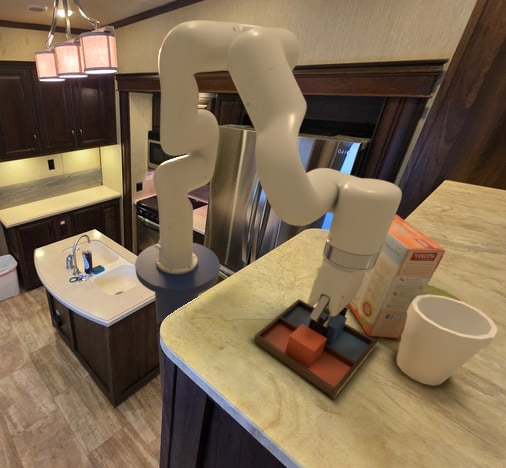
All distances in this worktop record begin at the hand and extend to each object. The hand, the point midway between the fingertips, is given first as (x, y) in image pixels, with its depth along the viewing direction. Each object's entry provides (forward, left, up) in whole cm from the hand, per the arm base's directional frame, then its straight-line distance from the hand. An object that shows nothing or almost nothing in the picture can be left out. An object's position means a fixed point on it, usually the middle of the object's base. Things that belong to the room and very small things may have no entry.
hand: (325, 327), depth 58 cm
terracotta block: (0, -8, -2) cm, 8 cm away
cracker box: (+3, +13, -3) cm, 14 cm away
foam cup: (+14, +5, -2) cm, 15 cm away
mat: (+10, +25, -3) cm, 27 cm away
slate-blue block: (0, 0, -2) cm, 2 cm away
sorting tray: (0, -4, -2) cm, 5 cm away
